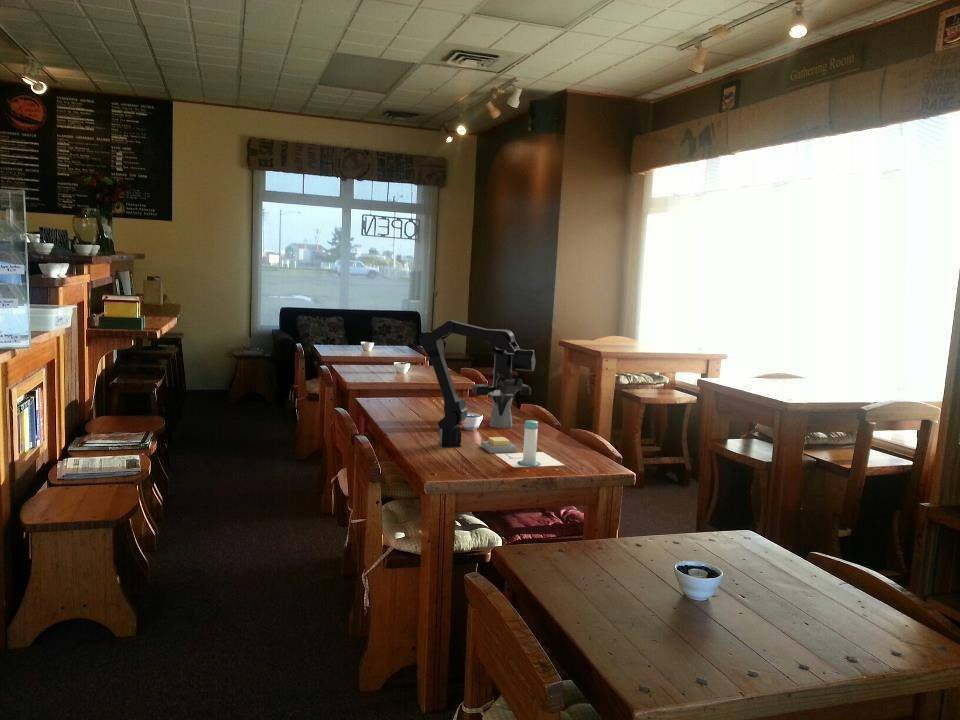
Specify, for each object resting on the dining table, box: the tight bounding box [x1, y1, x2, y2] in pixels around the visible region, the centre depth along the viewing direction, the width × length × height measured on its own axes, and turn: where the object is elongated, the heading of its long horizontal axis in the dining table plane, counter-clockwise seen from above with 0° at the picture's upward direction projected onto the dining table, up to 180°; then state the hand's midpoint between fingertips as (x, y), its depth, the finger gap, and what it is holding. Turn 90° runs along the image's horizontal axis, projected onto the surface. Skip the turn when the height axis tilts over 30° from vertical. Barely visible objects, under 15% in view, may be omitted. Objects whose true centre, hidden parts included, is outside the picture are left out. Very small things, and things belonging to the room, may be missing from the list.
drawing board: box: [494, 451, 565, 468], centre depth 241 cm, size 18×18×1 cm
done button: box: [487, 436, 511, 446], centre depth 252 cm, size 5×5×2 cm
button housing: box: [480, 440, 517, 454], centre depth 253 cm, size 9×9×2 cm
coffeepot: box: [488, 385, 515, 429], centre depth 294 cm, size 15×9×18 cm, turn 147°
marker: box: [522, 419, 539, 465], centre depth 235 cm, size 4×4×13 cm
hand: (500, 415), depth 251 cm, fingers closed
